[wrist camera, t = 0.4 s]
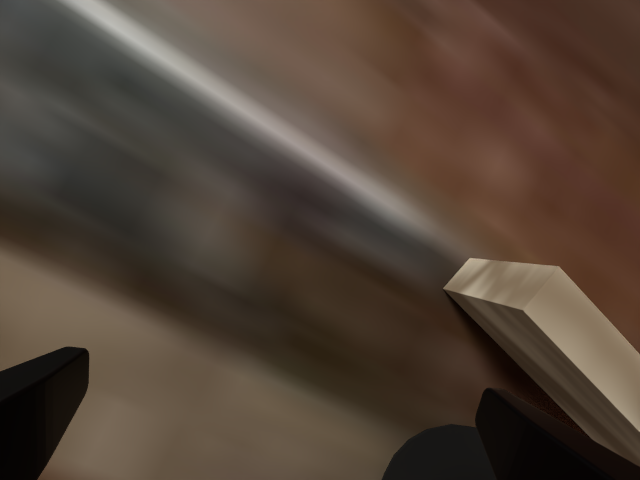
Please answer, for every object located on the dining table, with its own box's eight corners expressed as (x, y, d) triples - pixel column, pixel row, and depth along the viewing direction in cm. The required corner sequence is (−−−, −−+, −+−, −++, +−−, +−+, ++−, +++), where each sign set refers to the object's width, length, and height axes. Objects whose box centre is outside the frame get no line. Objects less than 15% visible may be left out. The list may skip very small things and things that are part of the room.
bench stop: (613, 460, 29) (825, 592, 18) (443, 288, 26) (573, 323, 16) (635, 430, 29) (857, 542, 19) (469, 258, 27) (615, 271, 16)
